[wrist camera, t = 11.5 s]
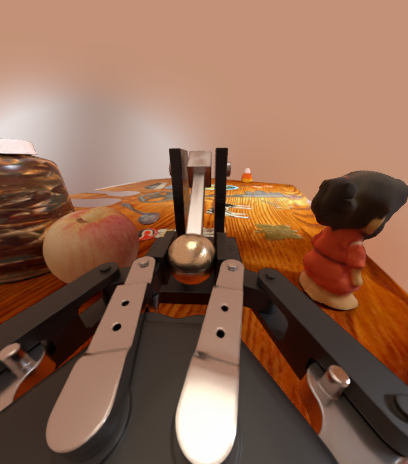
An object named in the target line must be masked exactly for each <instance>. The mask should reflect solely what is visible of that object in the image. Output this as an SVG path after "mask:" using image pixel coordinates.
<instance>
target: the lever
mask: <svg viewBox="0 0 408 464" xmlns="http://www.w3.org/2000/svg"><path fill="white" fill-rule="evenodd" d="M187 172H188V180H189V187H190V188H192V189H191V196H190V204H189V212H188V219H187V227H186V234H184V235H182V236H180V237H178V238H177V239H176V240H174V241H173V243H172V244H171V245H170V247H169V249H168V252H167V266H168V269H169V271H170V273H171V274H172V276H173V277H174V278H175V279H177V280H178V281H180V282H182V283H184V284H191V285H192V284H199V283H202V282H204V281H205V280H207V279H208V278H209V277H210V276H211V275H212V274H213V272H214V270H215V268H216V265H217V252H216V249H215V247H214V245H213V243H212V242H211V241H210V240H209V239H208V238H206V237H205V236H203V216H204V197H205V188H210V187H211V151H190V152H189V157H188V163H187Z"/></svg>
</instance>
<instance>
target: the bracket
mask: <svg viewBox="0 0 408 464" xmlns="http://www.w3.org/2000/svg"><path fill="white" fill-rule="evenodd" d="M169 155H170V164H169V171H170V175H171V178H172V189H173V201H174V212H175V224H176V232H177V238H178V237H180V236H182V235H184V234H186V227H187V219H188V212H189V204H190V195H189V180H188V172H187V163H188V152H187V151H186V150H183V149H180V148H176V149H175V148H173V149H169ZM227 156H228V148H216V150H215V187H214V237H206V238H208V239H209V240H210V241H211V242H212V243H213V245H214V247H215V249H216V241H217V232H220V233H224V222H225V200H226V179H227V177H229V176H230V173H231V162H227ZM227 239H233V240H234V241H235V242H236V239H235V237H227ZM236 244H237V243H236ZM237 249H238V246H237ZM238 253H239V249H238ZM239 258H240V262H241V263H242V260H241V256H240V253H239ZM242 264H243V263H242ZM214 285H216V268H215V270H214V272H213V274H212V275H211V276H210V277H209V278H208V279H207V280H205V281H204V282H202V283H199V284H192V285H191V284H184V283H182V282H180V281H178V280H177V279H175V278H174V277H173V276H172V274H171V276H170V279H169V282H168V284H167V285H162V286H161V289H160V290H161V296H160V303H185V304H209V300H210V297H211V293H212V289H213V286H214Z"/></svg>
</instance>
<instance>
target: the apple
mask: <svg viewBox="0 0 408 464" xmlns="http://www.w3.org/2000/svg"><path fill="white" fill-rule="evenodd" d="M138 250H139V236H138V232H137V230H136V228H135V226H134V224H133V223H132V222H131V221H130V220H129V219H128V218H127V217H126V216H125V215H124V214H122V213H121V212H119V211H117V210H115V209H112V208H109V207H95V208H91V209H86V210H81V211H76V212H73V213H70V214H67V215H65V216H63V217H61V218H60V219H59V220H57V221H56V222H55V223H53V224H52V225H51V227H50V228H49V229H48V231H47V233H46V235H45V238H44V243H43V255H44V259H45V262H46V264H47V266H48V268H49V269H50V271H51V272H52V273H53V274H54V275H55V276H56V277H57V278H59V279H60V280H62V281H63V282H65V283H67V284H69V283H70V282H72V281H74V280H75V279H77V278H79V277H80V276H82V275H84V274H85V273H87V272H89V271H90V270H92V269H94V268H95V267H97V266H99V265H101V264H103V263H107V262H115V263H117V264H118V266H119V268H124V267H130V266H132V264H133V262H134V261H135V260H136V258H137V255H138Z"/></svg>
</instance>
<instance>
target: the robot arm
mask: <svg viewBox="0 0 408 464" xmlns="http://www.w3.org/2000/svg"><path fill="white" fill-rule="evenodd" d="M176 239H177V232H176V231H167V232H166V233H165V235H164V237H159V238H158V239H156V240H155V242H154V243H153V245H152V246H151V248H150V249H149V251H148V252H147V254H146V255H145V257H141V258H138V259H137V260H135V261H134V262H133V264H132V266H130V267H124V268H119V266H118V264H117V263H115V262H107V263H103V264H101V265H99V266H97V267H95V268H94V269H92V270H90V271H89V272H87V273H85V274H84V275H82V276H80V277H79V278H77V279H75V280H74V281H72V282H70V283H69V284H67V285H65V286H64V287H62V288H60V289H59V290H57V291H55V292H54V293H52V294H50V295H49V296H47V297H45V298H44V299H42V300H40V301H39V302H37V303H35V304H34V305H32V306H30V307H29V308H27V309H25V310H24V311H22V312H20V313H19V314H17V315H15V316H14V317H12V318H10V319H9V320H7V321H5V322H4V323H2V324H0V464H408V386H407V385H406V384H405V383H404V382H403V381H402V380H401V379H399V378H398V377H397V376H396V375H395V374H394V373H393V372H392V371H390V370H389V369H388V368H387V367H386V366H385V365H384V364H383V363H381V362H380V361H379V360H378V359H377V358H376V357H375V356H374V355H372V354H371V353H370V352H369V351H368V350H367V349H366V348H365V347H363V346H362V345H361V344H360V343H359V342H358V341H357V340H356V339H354V338H353V337H352V336H351V335H350V334H349V333H348V332H347V331H345V330H344V329H343V328H342V327H341V326H340V325H339V324H338V323H336V322H335V321H334V320H333V319H332V318H331V317H330V316H329V315H327V314H326V313H325V312H324V311H323V310H322V309H321V308H320V307H318V306H317V305H316V304H315V303H314V302H313V301H312V300H311V299H309V298H308V297H307V296H306V295H305V294H304V293H303V292H302V291H300V290H299V289H298V288H297V287H296V286H295V285H294V284H293V283H291V282H290V281H289V280H288V279H287V278H286V277H285V276H283V275H282V274H281V273H280V272H278V271H277V270H274V269H271V268H264V269H261V270H260V271H259V272H258V273H256V272H252V271H249V270H247V269H245V268H244V265H243V264H242V263H241V262H240V258H239V253H238V249H237V244H236V242H235V241H234V240H233V239H227V236H226V233H220V232H217V241H216V252H217V265H216V285H214V286H213V289H212V293H211V297H210V300H209V304H208V307H207V311H206V314H205V315H194V316H188V317H183V318H177V319H176V318H172V317H169V316H166V315H163V314H160V313H158V311H159V304H160V296H161V290H160V289H161V286H162V285H167V284H168V282H169V279H170V276H171V273H170V271H169V269H168V266H167V252H168V249H169V247H170V245H171V244H172V243H173V241H174V240H176ZM98 292H100V294H101V297H102V298H100V299H99V300H98V301H97V302H95V303H94V304H93V305H91V306H90V307H89V308H87V309H86V310H85V311H84V312H82V313H81V314H80V315H79V314H78V310H79V308H80V306H81V305H82V304H83V303H84V302H86V301H87V300H89V299H90V298H91V297H93V296H94V295H95V294H97V293H98ZM243 306H245V307H248V308H251V309H252V311H253V313H254V314H255V315H256V317H257V318H258V320H259V321H260V323H261V324H262V326H263V327H264V329H265V330H266V331H267V333H268V334H269V336H270V337H271V339H272V340H273V342H274V343H275V345H276V346H277V348H278V349H279V350H280V352H281V353H282V355H283V356H284V358H285V359H286V361H287V362H288V364H289V365H290V366H291V368H292V369H293V371H294V372H295V374H296V375H297V377H298V378H299V380H300V384H299V392H300V396H301V399H302V402H303V404H304V406H305V407H306V409H307V411H308V414H309V416H310V420H311V425H312V427H311V426H310V424H309V423H308V422H307V421H306V419H305V418H304V417H303V416H302V414H301V413H300V412H299V411H298V409H297V408H296V407H295V406H294V404H293V403H292V402H291V401H290V399H289V398H288V397H287V396H286V394H285V393H284V392H283V391H282V389H281V388H280V387H279V386H278V384H277V383H276V382H275V381H274V379H273V378H272V377H271V376H270V374H269V373H268V372H267V371H266V369H265V368H264V367H263V366H262V364H261V363H260V362H259V361H258V359H257V358H256V357H255V356H254V354H253V353H252V352H251V351H250V349H249V348H248V347H247V346H246V344H245V343H244V342H243V341H242V339H241V327H242V310H243ZM94 333H95V334H94ZM93 334H94V336H93V339H92V341H91V343H90V345H89V346H88V347H86V348H85V349H83V350H82V351H81V352H79V353H78V354H77V355H75V356H74V357H73V358H71V359H70V360H69V361H67V362H66V363H65V364H63V365H62V366H61V367H59V366H60V365H61V364H62V363H63V362H64V361H65V360H66V359H67V358H68V357H69V356H71V355H72V354H73V353H74V352H75V351H76V350H77V349H78V348H79V347H80V346H81V345H82V344H83V343H85V342H86V341H87V340H88V339H89V338H90V337H91V336H92V335H93ZM58 367H59V368H58ZM57 368H58V369H57ZM55 369H57V370H55ZM54 370H55V371H54Z"/></svg>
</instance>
